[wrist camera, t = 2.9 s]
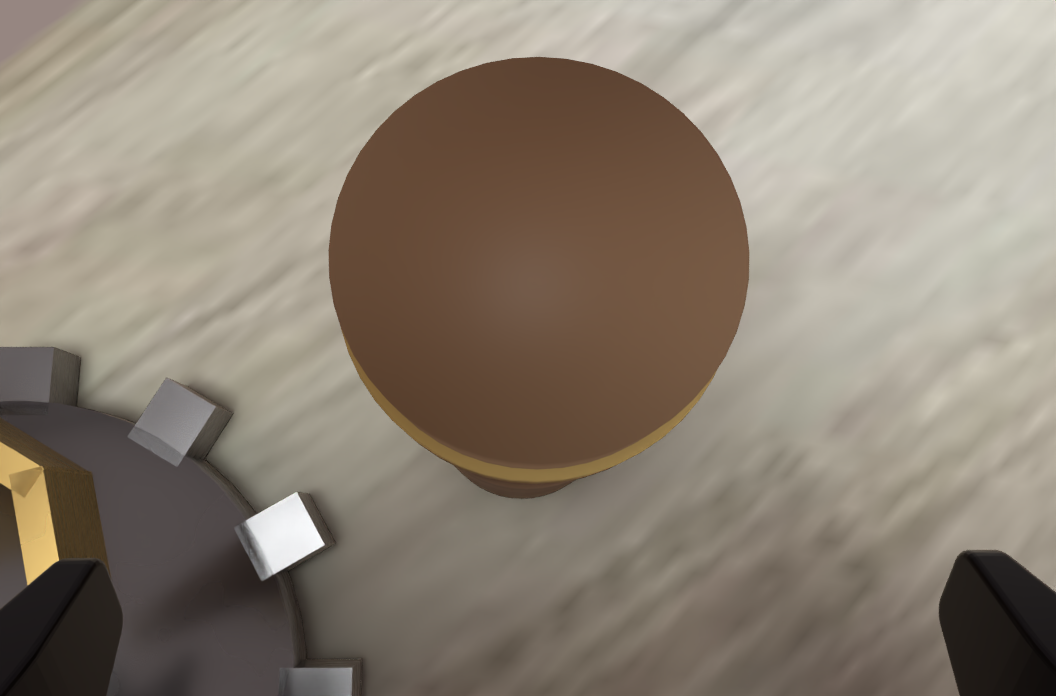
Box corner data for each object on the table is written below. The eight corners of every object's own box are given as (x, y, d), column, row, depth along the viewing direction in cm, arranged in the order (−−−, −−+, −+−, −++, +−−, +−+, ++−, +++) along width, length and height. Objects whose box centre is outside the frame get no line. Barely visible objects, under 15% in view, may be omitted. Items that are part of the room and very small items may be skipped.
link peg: (640, 383, 20) (836, 176, 8) (554, 536, 20) (627, 563, 8) (490, 297, 21) (461, -25, 8) (401, 446, 20) (230, 330, 8)
